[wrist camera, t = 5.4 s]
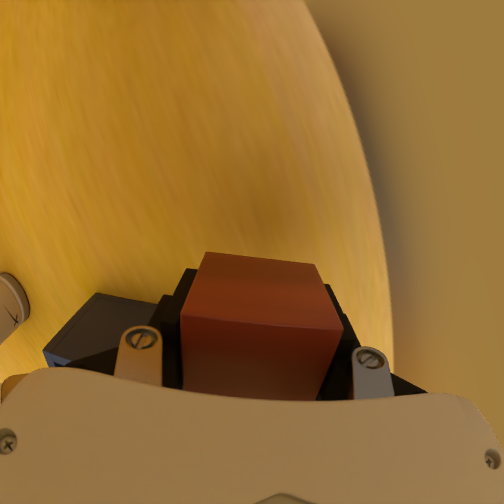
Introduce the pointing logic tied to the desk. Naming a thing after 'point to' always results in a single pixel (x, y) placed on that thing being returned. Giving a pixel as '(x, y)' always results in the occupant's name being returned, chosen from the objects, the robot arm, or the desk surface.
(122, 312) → the dark grey hollow box
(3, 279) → the travel mug
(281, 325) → the block
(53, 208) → the desk surface
